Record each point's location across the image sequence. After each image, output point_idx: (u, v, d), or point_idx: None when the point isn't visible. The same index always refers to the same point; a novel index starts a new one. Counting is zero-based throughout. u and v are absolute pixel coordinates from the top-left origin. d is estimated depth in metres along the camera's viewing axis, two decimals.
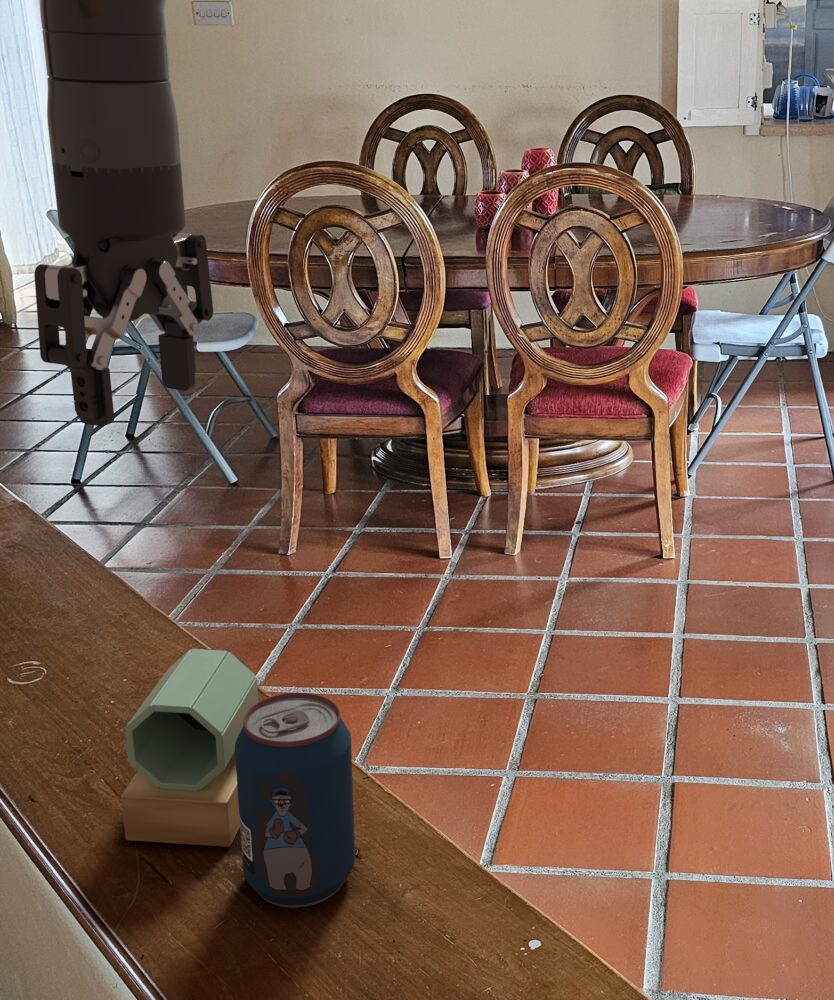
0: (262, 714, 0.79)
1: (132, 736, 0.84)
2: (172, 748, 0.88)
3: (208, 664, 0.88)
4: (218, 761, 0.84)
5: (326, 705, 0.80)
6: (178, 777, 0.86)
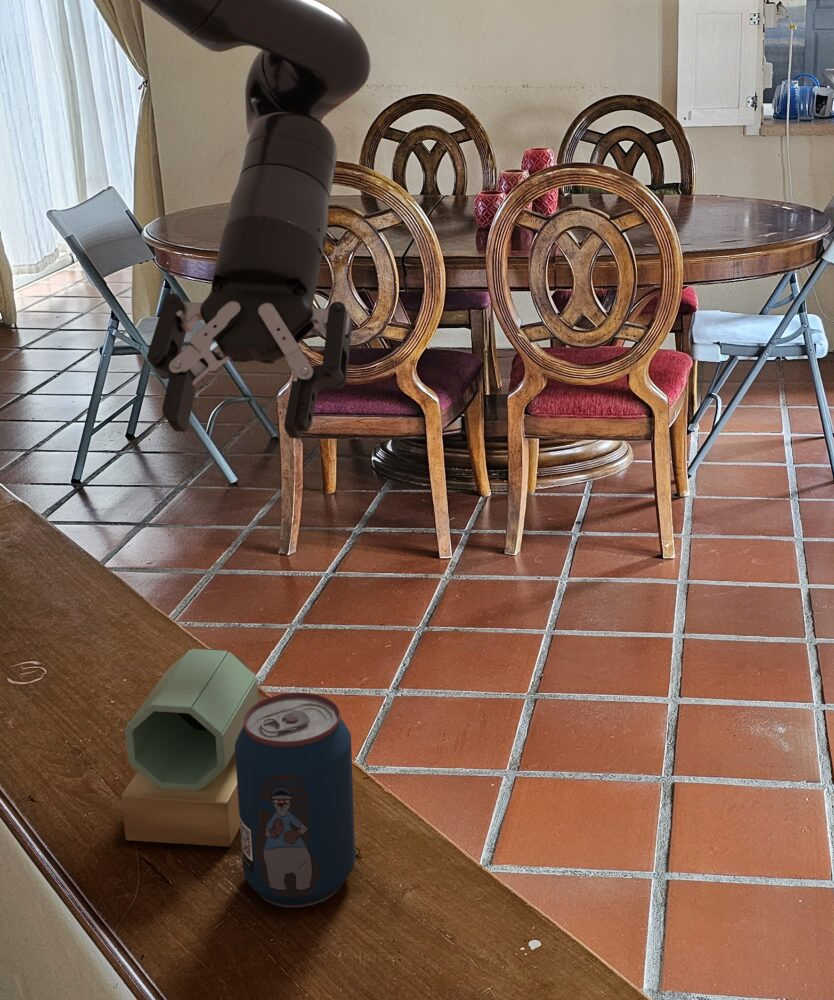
0: (262, 714, 0.79)
1: (132, 736, 0.84)
2: (172, 748, 0.88)
3: (208, 664, 0.88)
4: (218, 761, 0.84)
5: (326, 705, 0.80)
6: (178, 777, 0.86)
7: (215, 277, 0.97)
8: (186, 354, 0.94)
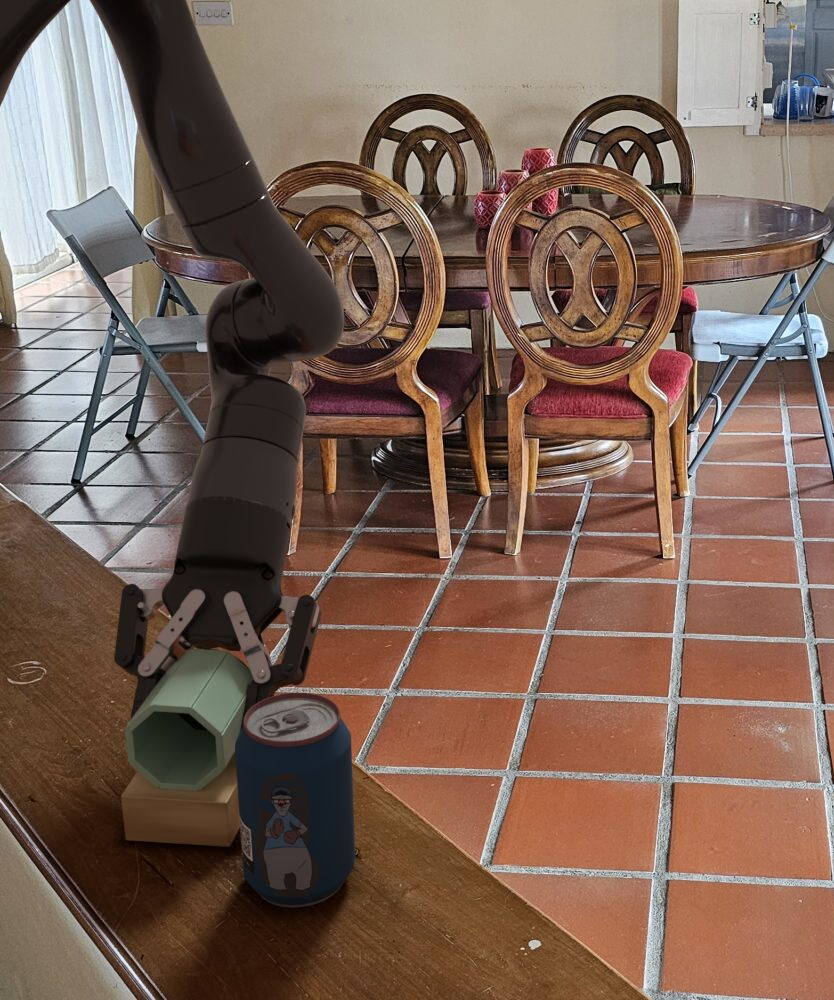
0: (262, 714, 0.79)
1: (132, 736, 0.84)
2: (172, 748, 0.88)
3: (208, 664, 0.88)
4: (218, 761, 0.84)
5: (326, 705, 0.80)
6: (178, 777, 0.86)
7: (178, 560, 0.92)
8: (154, 654, 0.89)
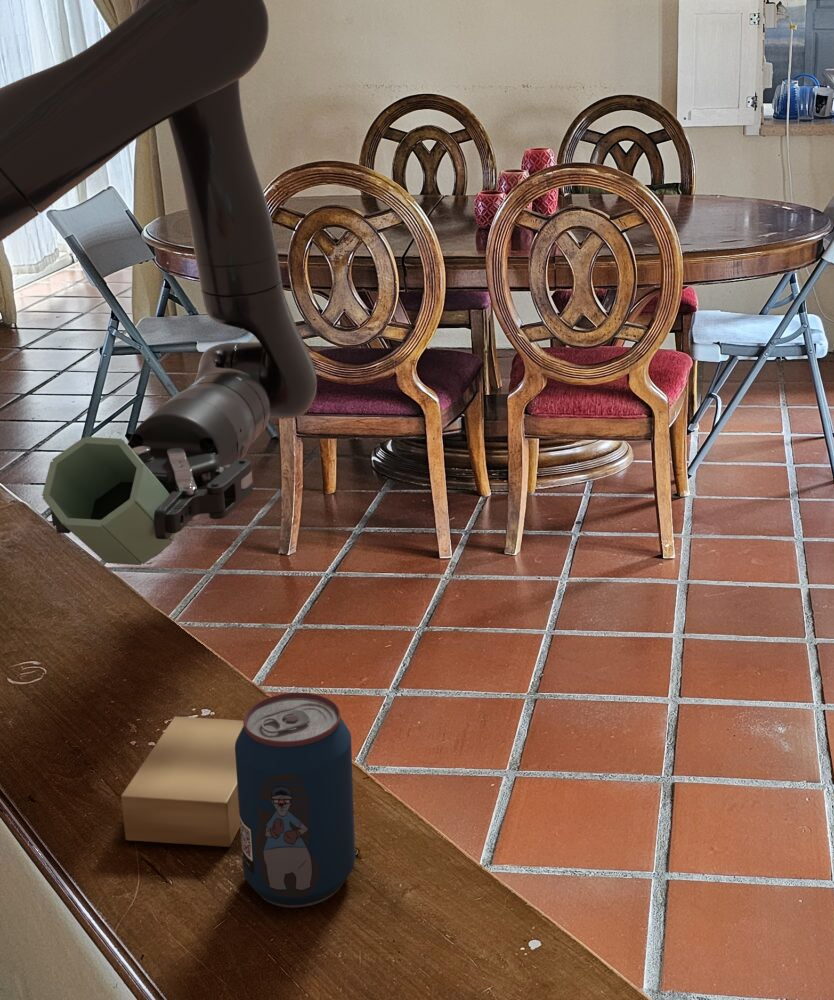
0: (262, 714, 0.79)
1: (55, 469, 0.87)
2: None
3: None
4: (131, 493, 0.86)
5: (326, 705, 0.80)
6: None
7: (131, 439, 1.00)
8: None
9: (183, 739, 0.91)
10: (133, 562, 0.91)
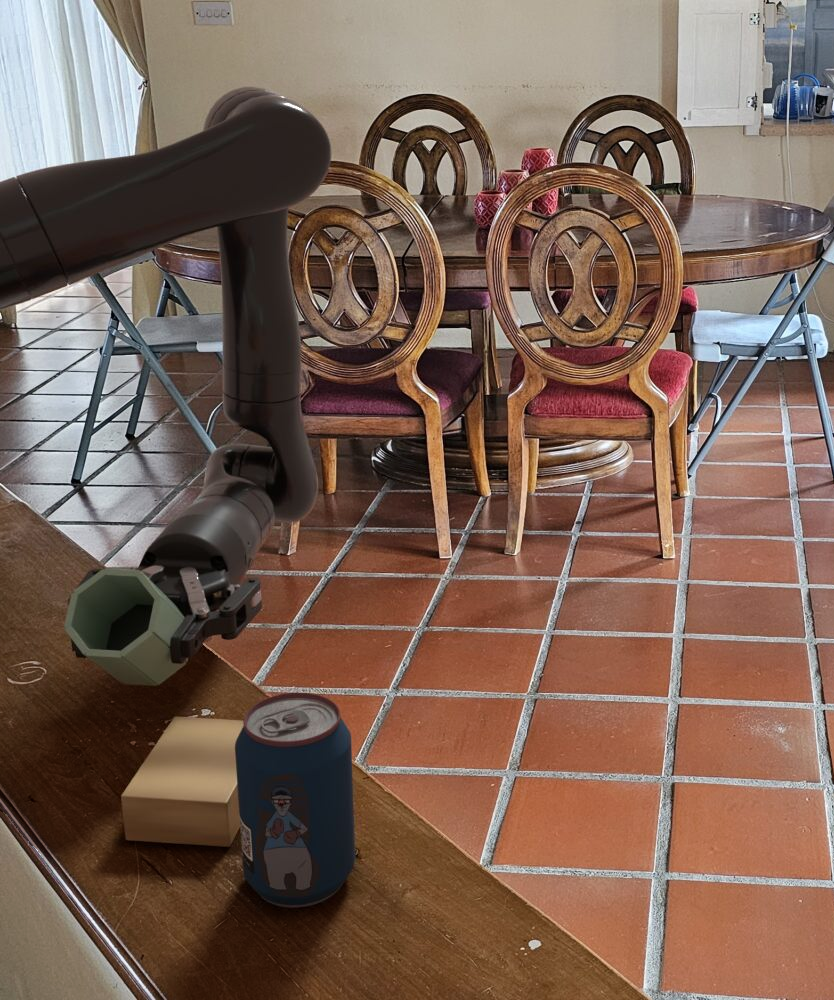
0: (262, 714, 0.79)
1: (76, 600, 0.91)
2: None
3: None
4: (150, 624, 0.90)
5: (326, 705, 0.80)
6: None
7: (144, 557, 1.04)
8: None
9: (183, 739, 0.91)
10: (148, 683, 0.95)
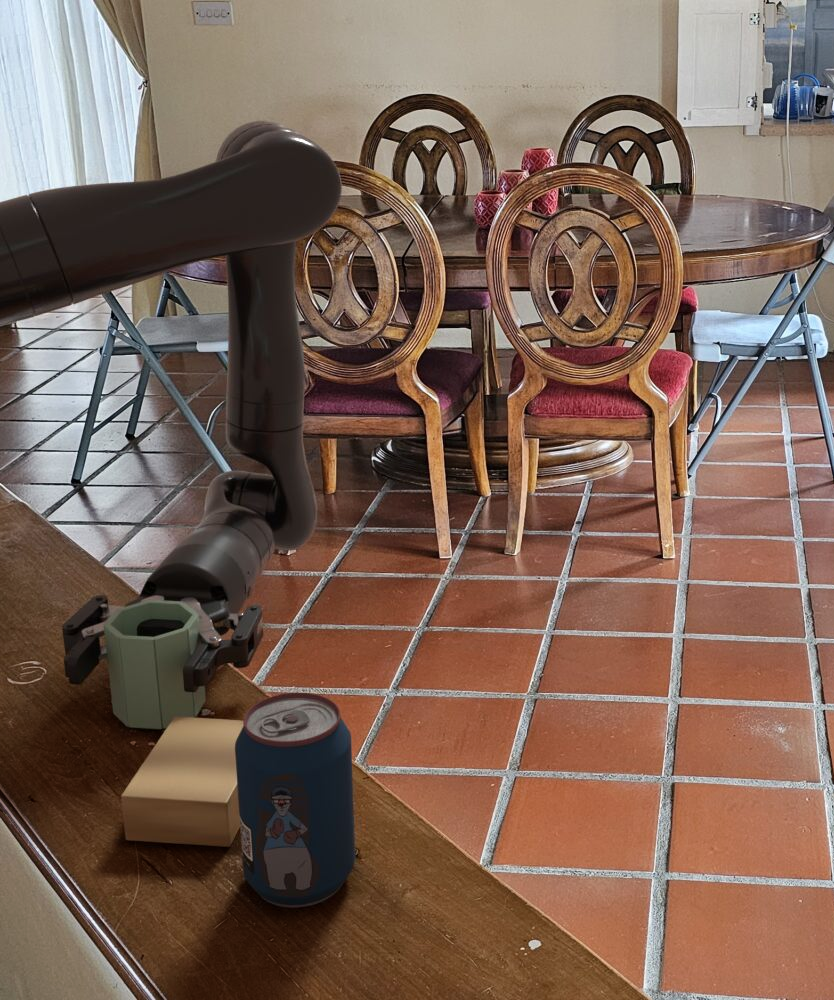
0: (262, 714, 0.79)
1: (119, 613, 0.98)
2: None
3: None
4: (185, 625, 0.97)
5: (326, 705, 0.80)
6: None
7: (145, 586, 1.05)
8: (101, 625, 0.99)
9: (183, 739, 0.91)
10: (156, 722, 0.97)
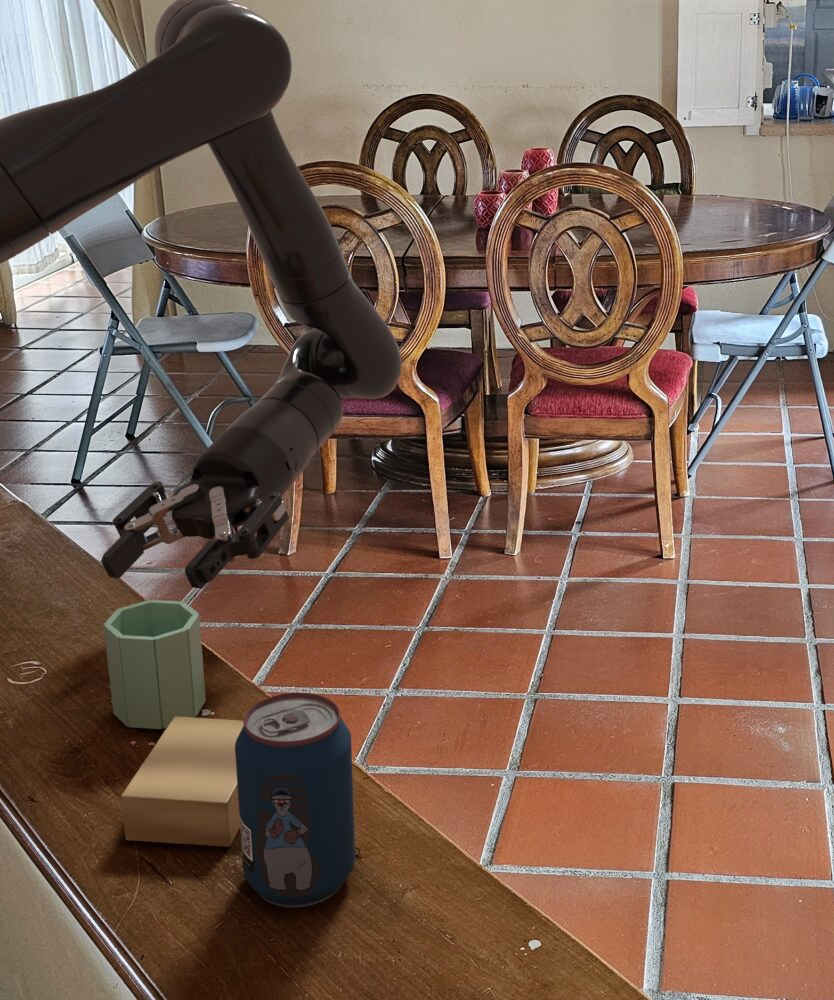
0: (262, 714, 0.79)
1: (119, 613, 0.98)
2: None
3: None
4: (185, 625, 0.97)
5: (326, 705, 0.80)
6: None
7: (194, 471, 1.13)
8: (142, 518, 1.09)
9: (183, 739, 0.91)
10: (156, 722, 0.97)
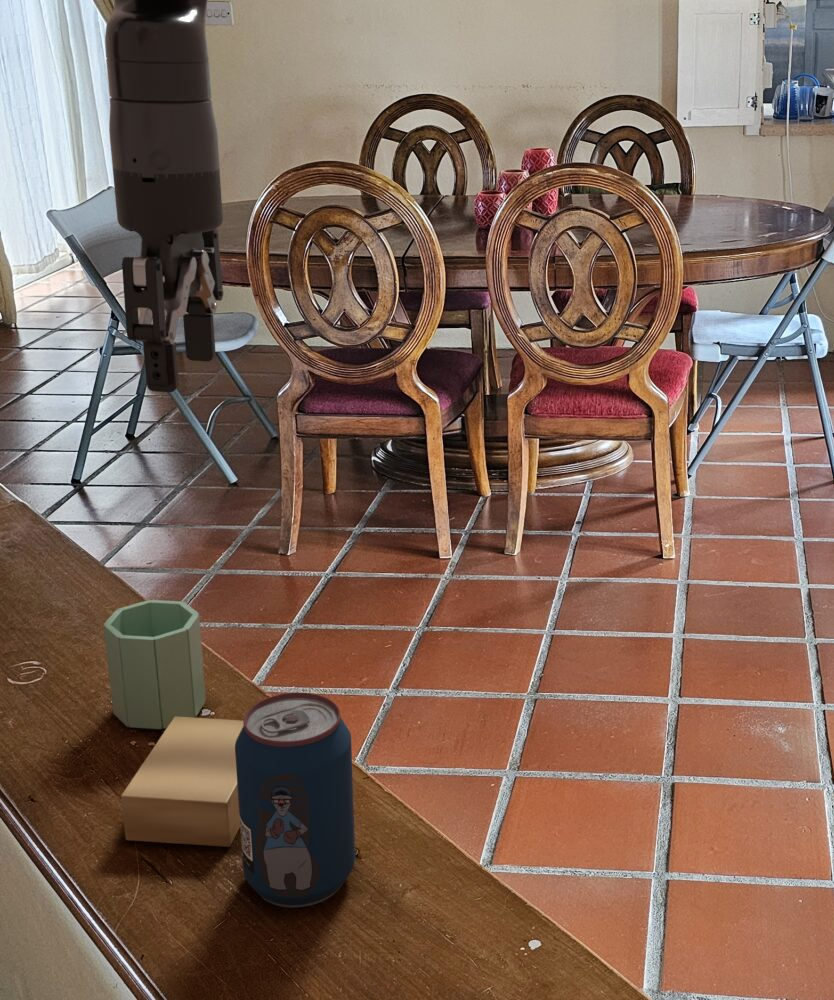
0: (262, 714, 0.79)
1: (119, 613, 0.98)
2: None
3: None
4: (185, 625, 0.97)
5: (326, 705, 0.80)
6: None
7: None
8: None
9: (183, 739, 0.91)
10: (156, 722, 0.97)
